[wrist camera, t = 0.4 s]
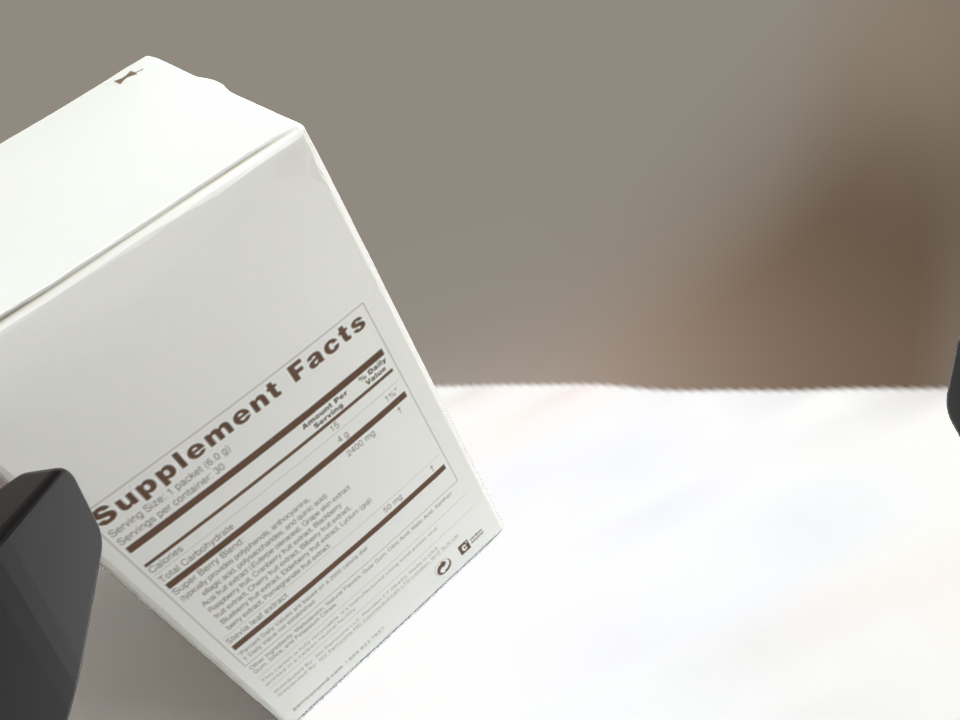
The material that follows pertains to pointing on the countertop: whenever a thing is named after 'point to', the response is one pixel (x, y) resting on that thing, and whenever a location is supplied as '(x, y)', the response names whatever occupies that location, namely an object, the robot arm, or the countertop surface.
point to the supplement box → (225, 381)
